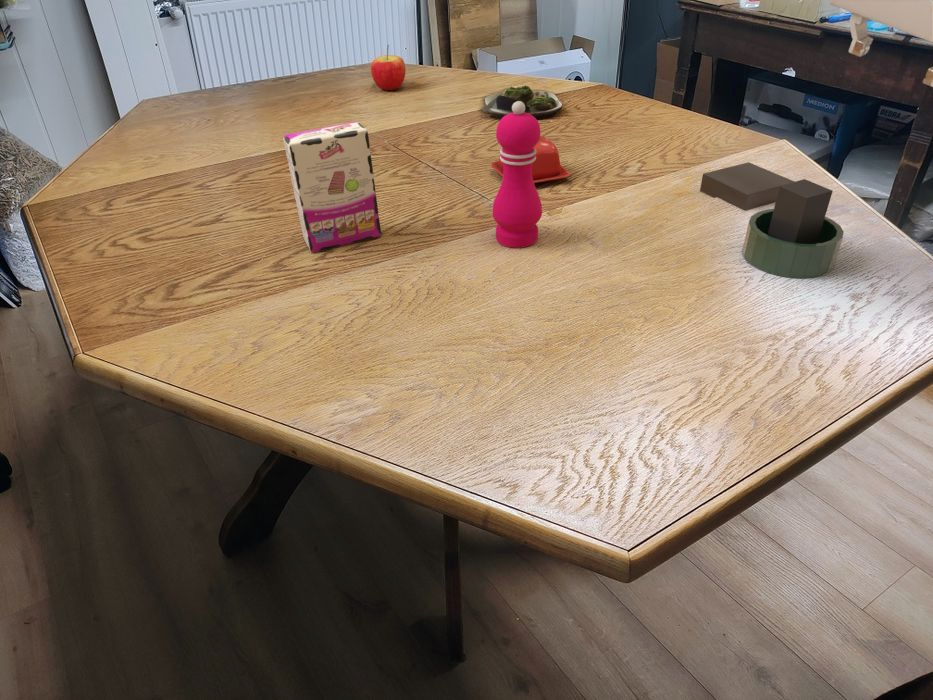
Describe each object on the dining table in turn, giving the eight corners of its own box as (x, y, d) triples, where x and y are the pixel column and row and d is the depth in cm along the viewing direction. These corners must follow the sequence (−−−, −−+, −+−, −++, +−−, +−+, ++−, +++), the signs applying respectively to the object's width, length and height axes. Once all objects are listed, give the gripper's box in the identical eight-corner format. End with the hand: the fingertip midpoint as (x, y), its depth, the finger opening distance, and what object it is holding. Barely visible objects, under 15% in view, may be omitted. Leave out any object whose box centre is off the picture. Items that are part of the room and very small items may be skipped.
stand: (745, 178, 117) (748, 161, 115) (791, 199, 110) (795, 181, 108) (699, 190, 114) (702, 173, 112) (744, 212, 106) (748, 194, 105)
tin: (784, 233, 100) (792, 201, 97) (852, 267, 92) (863, 233, 89) (723, 252, 96) (730, 219, 93) (788, 289, 88) (798, 254, 85)
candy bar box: (371, 224, 107) (358, 119, 98) (382, 237, 103) (369, 129, 94) (301, 240, 103) (280, 133, 94) (310, 254, 100) (289, 143, 90)
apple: (410, 84, 172) (407, 42, 166) (401, 94, 165) (398, 50, 159) (379, 84, 173) (374, 42, 167) (369, 93, 167) (364, 50, 161)
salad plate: (476, 97, 161) (476, 76, 159) (551, 93, 162) (552, 73, 159) (483, 123, 146) (483, 101, 143) (566, 118, 146) (567, 96, 144)
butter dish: (573, 182, 118) (576, 133, 113) (512, 193, 115) (512, 143, 110) (545, 160, 127) (546, 114, 122) (487, 170, 124) (486, 123, 119)
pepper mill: (534, 252, 98) (538, 111, 86) (486, 246, 100) (484, 107, 88) (546, 230, 104) (551, 95, 92) (500, 225, 106) (500, 92, 94)
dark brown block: (786, 246, 96) (804, 178, 90) (812, 260, 93) (833, 190, 87) (762, 254, 95) (779, 185, 89) (787, 267, 91) (807, 197, 86)
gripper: (1078, -45, 63) (999, 95, 74) (880, -97, 75) (836, 30, 85) (1039, -26, 61) (964, 115, 72) (842, -83, 73) (802, 45, 83)
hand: (893, 68), depth 78 cm, fingers open, 8 cm apart
